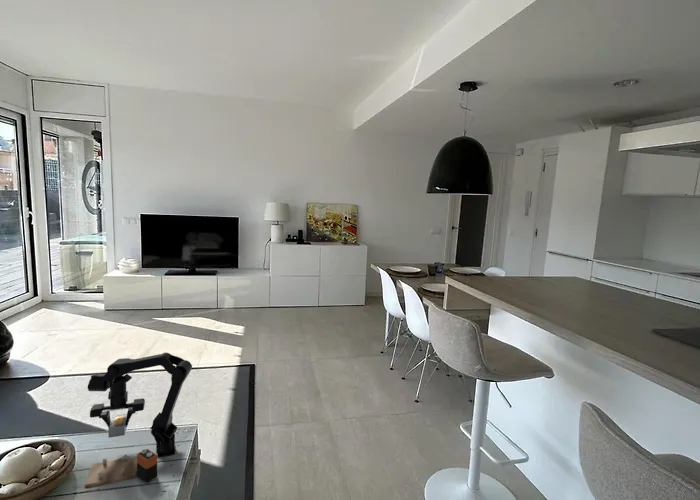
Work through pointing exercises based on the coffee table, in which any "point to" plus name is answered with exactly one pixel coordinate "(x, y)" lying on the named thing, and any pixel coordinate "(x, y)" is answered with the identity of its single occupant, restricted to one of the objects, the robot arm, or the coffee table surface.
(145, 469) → the battery
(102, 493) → the coffee table surface
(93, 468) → the brown board with pegs
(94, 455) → the coffee table surface
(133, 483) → the coffee table surface
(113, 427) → the block
